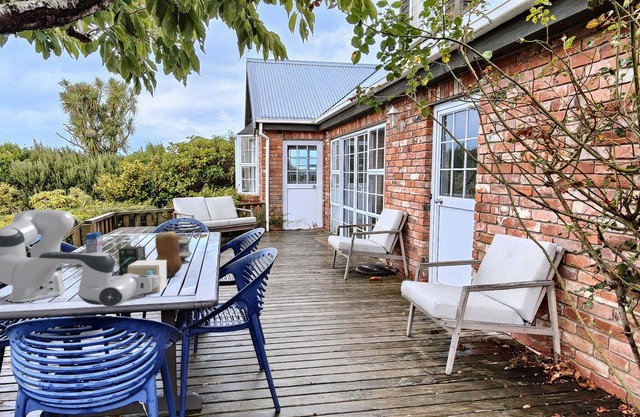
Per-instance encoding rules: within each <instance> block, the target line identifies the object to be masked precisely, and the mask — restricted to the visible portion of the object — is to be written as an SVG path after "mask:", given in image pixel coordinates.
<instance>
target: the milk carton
mask: <svg viewBox="0 0 640 417" xmlns="http://www.w3.org/2000/svg"><path fill="white" fill-rule="evenodd" d="M84 236H85V253H95V252H103V241H102V240H103V239H102V238H103V237H102V232H101V231H100V232H99V231H98V232H97V231H96V232H94V231H91V232H88V233H85V234H84Z"/></svg>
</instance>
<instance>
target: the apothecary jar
mask: <svg viewBox="0 0 640 417" xmlns="http://www.w3.org/2000/svg"><path fill="white" fill-rule="evenodd" d="M177 236H178V240H179V256H180V259H181V261H182V265H185V264H186V263H187V264H189V263H190V260H187V259H188V258H189V257H191V256H192V252H191V251H190V248H189V247H190V246H189V244H190V243H191V239H190V238H189V235H188V234H177Z"/></svg>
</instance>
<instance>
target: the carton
mask: <svg viewBox="0 0 640 417" xmlns="http://www.w3.org/2000/svg"><path fill="white" fill-rule="evenodd" d="M128 267H158V275H160V276H161V283H160V285H158V290H156V291H151V292H150V293H160V292H162V291H163V290H164V289H165V288H166V287H168V277H167V260H157V259H152V260H151V259H150V260H149V259H148V260H146V259H145V260H139V261H136V262H134V263H132V264H130V265H128Z"/></svg>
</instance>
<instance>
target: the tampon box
mask: <svg viewBox="0 0 640 417" xmlns="http://www.w3.org/2000/svg"><path fill="white" fill-rule="evenodd" d="M139 260H146V246H144V245H143V246H142V245H141V246H139V245H137V246H133V245H132V246H124V247H121V248H120V247H119V248H118V265H119V266H118V267H119V269H118V270H119V274H120V275H121V274H122V275H124V274H127V273H128V269H127V268H128V265H130V264H132V263H134V262H136V261H139Z"/></svg>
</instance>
